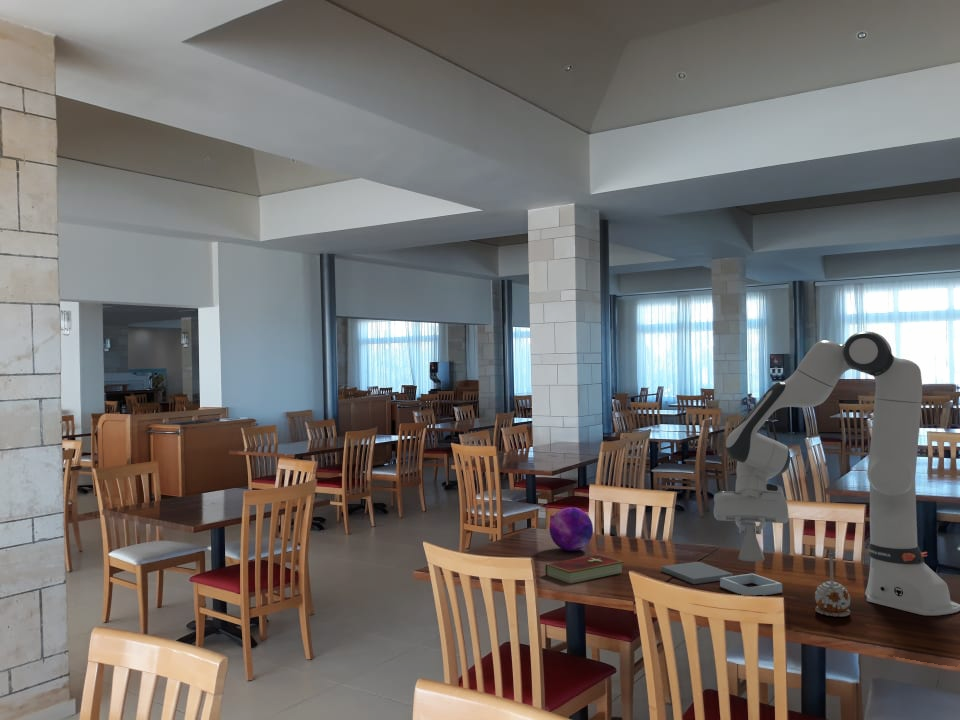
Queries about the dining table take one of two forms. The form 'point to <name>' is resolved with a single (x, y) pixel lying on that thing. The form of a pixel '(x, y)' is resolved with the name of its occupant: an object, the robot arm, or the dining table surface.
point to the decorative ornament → (832, 597)
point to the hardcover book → (584, 568)
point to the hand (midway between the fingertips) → (750, 532)
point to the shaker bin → (765, 587)
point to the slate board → (696, 572)
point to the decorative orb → (571, 529)
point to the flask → (750, 545)
